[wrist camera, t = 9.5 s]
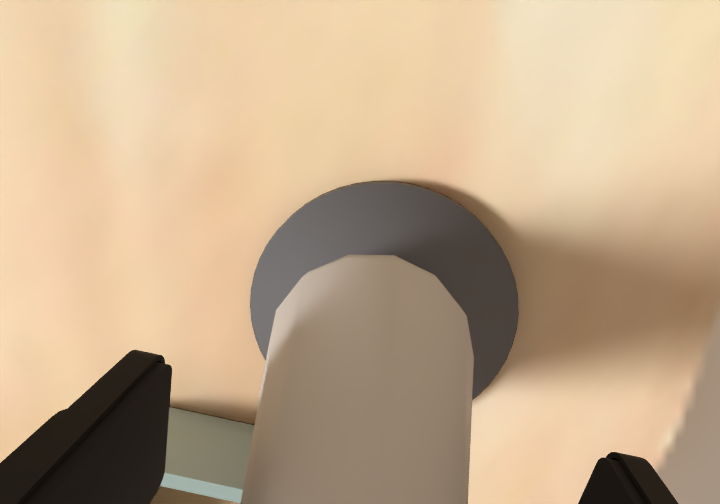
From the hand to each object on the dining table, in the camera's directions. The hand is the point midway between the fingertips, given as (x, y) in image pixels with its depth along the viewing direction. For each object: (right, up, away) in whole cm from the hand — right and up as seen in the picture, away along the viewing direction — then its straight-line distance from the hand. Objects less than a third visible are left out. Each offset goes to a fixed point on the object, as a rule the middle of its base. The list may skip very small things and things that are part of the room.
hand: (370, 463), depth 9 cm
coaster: (+1, +2, +7) cm, 7 cm away
